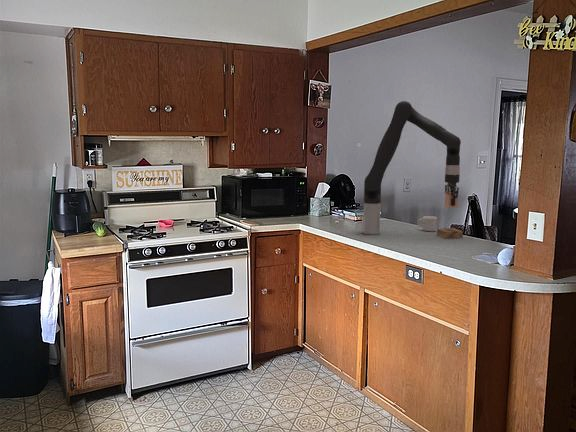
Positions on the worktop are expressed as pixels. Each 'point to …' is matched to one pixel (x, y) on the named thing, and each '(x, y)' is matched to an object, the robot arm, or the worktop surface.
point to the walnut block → (449, 233)
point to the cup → (428, 223)
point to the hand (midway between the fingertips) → (450, 204)
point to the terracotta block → (449, 200)
